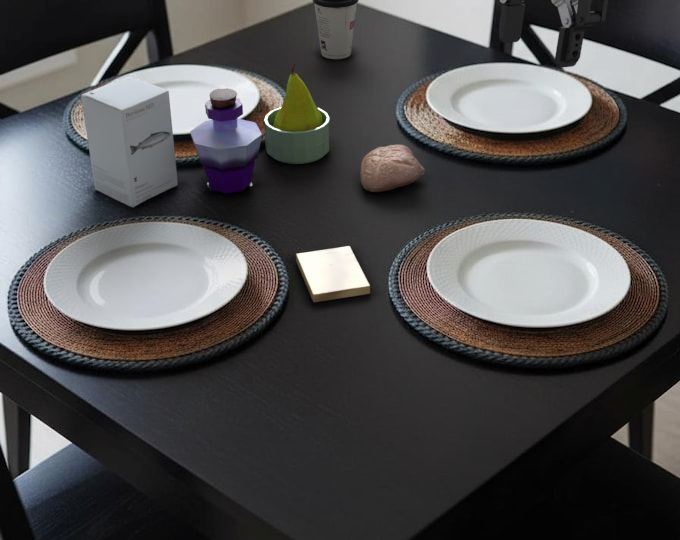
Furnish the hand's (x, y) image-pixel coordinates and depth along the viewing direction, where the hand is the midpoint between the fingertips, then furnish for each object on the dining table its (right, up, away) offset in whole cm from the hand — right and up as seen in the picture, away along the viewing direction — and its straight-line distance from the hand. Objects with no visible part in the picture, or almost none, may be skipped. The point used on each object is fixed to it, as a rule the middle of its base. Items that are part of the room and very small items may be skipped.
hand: (536, 53), depth 101 cm
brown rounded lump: (-13, -11, +26) cm, 31 cm away
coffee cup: (-20, +12, +61) cm, 65 cm away
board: (-20, -22, +9) cm, 31 cm away
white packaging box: (-44, -11, +25) cm, 52 cm away
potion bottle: (-32, -11, +26) cm, 43 cm away
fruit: (-24, -5, +33) cm, 41 cm away
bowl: (-24, -6, +33) cm, 41 cm away
